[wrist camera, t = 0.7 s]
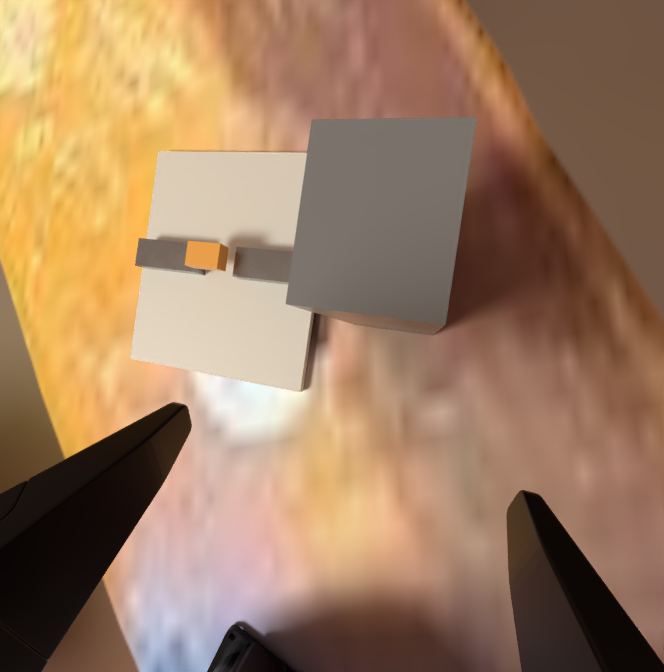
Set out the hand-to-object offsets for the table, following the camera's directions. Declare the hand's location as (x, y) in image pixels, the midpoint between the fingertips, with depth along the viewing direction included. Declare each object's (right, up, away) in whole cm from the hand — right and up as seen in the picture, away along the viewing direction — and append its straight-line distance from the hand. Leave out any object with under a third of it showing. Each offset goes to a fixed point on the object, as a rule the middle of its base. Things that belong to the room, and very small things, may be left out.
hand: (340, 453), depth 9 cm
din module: (+4, +7, +13) cm, 15 cm away
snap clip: (-8, +8, +14) cm, 18 cm away
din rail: (-8, +8, +16) cm, 20 cm away
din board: (-8, +8, +16) cm, 20 cm away
